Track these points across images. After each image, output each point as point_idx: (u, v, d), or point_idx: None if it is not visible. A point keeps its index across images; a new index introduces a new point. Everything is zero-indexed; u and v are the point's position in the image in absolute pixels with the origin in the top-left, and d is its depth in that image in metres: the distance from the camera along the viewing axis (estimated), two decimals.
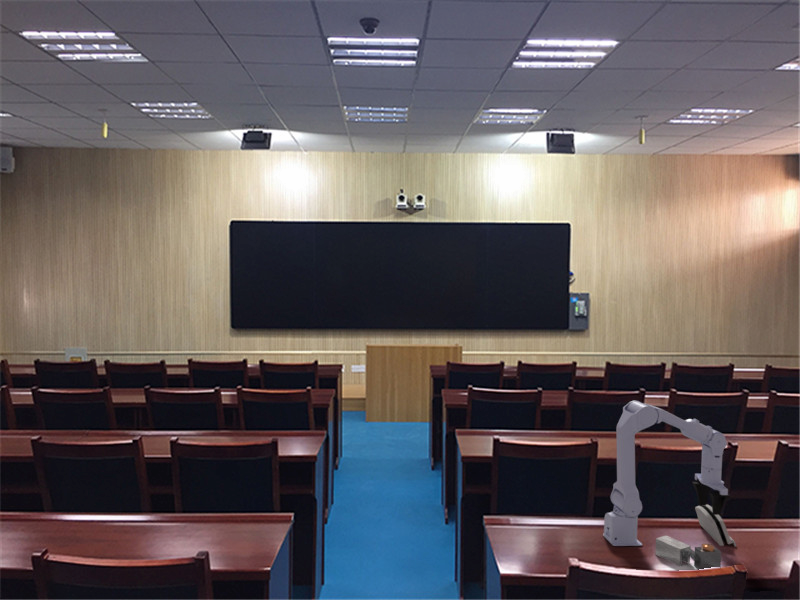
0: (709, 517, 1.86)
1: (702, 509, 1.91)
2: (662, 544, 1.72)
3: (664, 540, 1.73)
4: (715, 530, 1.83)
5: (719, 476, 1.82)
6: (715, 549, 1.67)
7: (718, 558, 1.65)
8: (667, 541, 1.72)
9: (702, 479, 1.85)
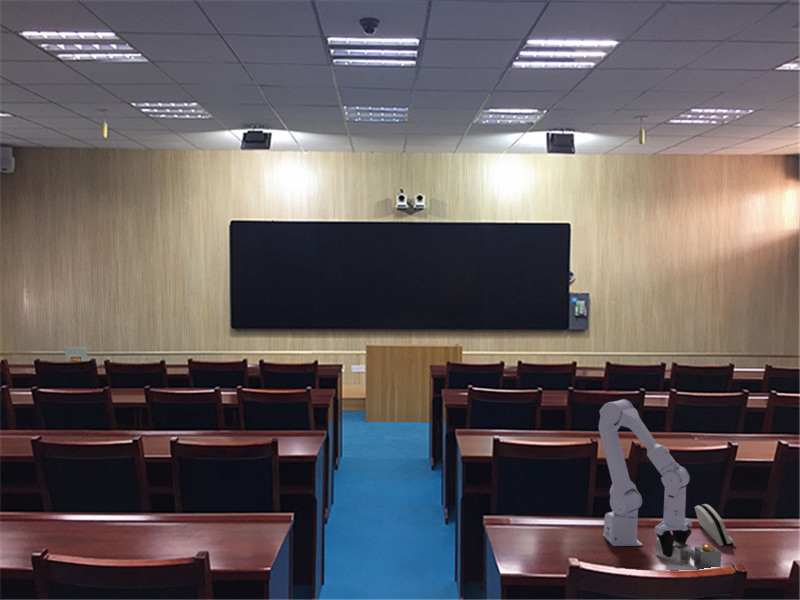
0: (708, 517, 1.86)
1: (701, 509, 1.91)
2: None
3: None
4: (714, 530, 1.83)
5: (672, 518, 1.70)
6: (715, 549, 1.67)
7: (718, 558, 1.65)
8: None
9: None
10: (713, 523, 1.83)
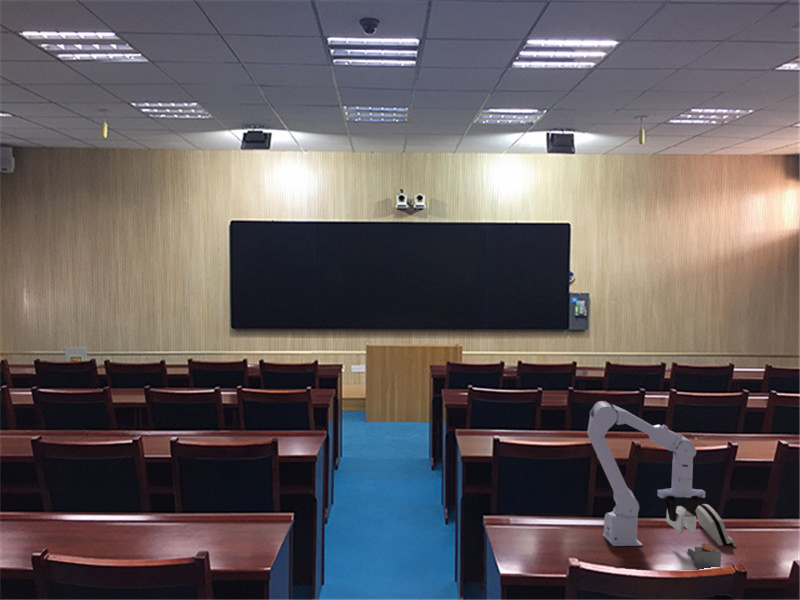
0: (708, 517, 1.86)
1: (701, 509, 1.91)
2: None
3: None
4: (714, 530, 1.83)
5: (676, 484, 1.78)
6: (715, 549, 1.67)
7: (718, 558, 1.65)
8: (676, 510, 1.80)
9: None
10: (713, 523, 1.83)
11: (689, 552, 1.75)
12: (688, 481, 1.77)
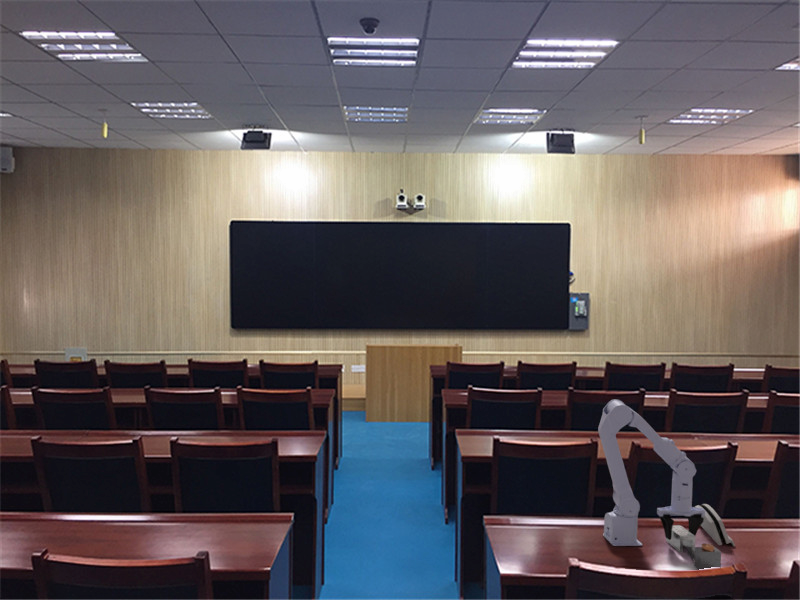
0: (708, 516, 1.86)
1: None
2: None
3: (673, 528, 1.82)
4: (713, 529, 1.83)
5: (675, 503, 1.79)
6: (715, 549, 1.67)
7: (718, 558, 1.65)
8: (675, 529, 1.81)
9: None
10: (712, 523, 1.83)
11: (689, 552, 1.75)
12: (687, 500, 1.78)
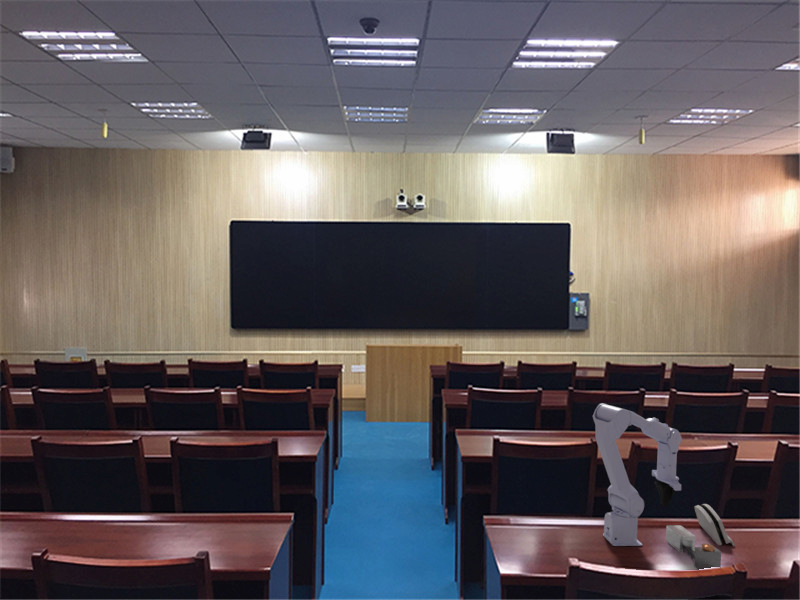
0: (707, 516, 1.86)
1: (701, 508, 1.91)
2: (670, 531, 1.82)
3: (673, 528, 1.82)
4: (713, 529, 1.83)
5: (674, 472, 1.87)
6: (715, 549, 1.67)
7: (718, 558, 1.65)
8: (675, 529, 1.81)
9: (658, 475, 1.89)
10: (712, 523, 1.83)
11: (689, 552, 1.75)
12: None
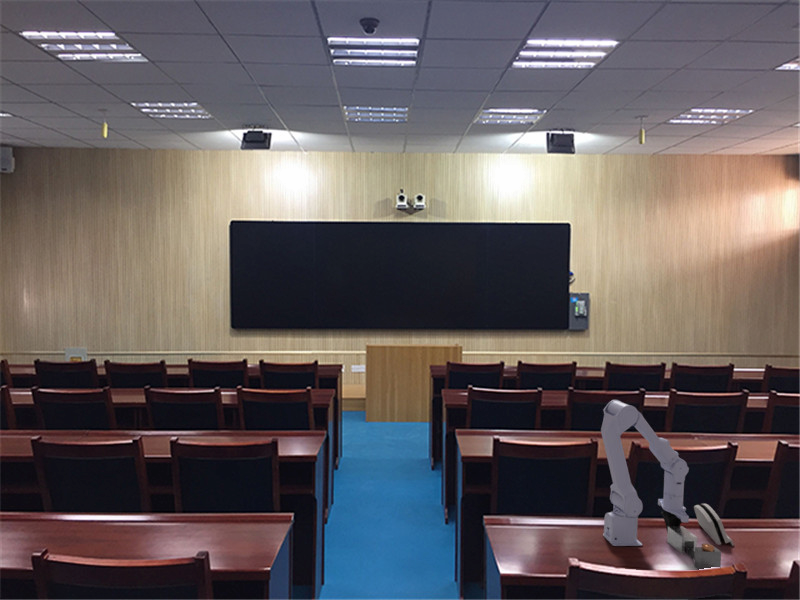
0: (707, 516, 1.86)
1: (700, 508, 1.92)
2: (671, 532, 1.81)
3: (674, 528, 1.81)
4: (712, 529, 1.83)
5: (681, 503, 1.83)
6: (715, 549, 1.67)
7: (718, 558, 1.65)
8: (677, 530, 1.80)
9: (664, 505, 1.85)
10: (711, 522, 1.84)
11: (689, 552, 1.75)
12: None
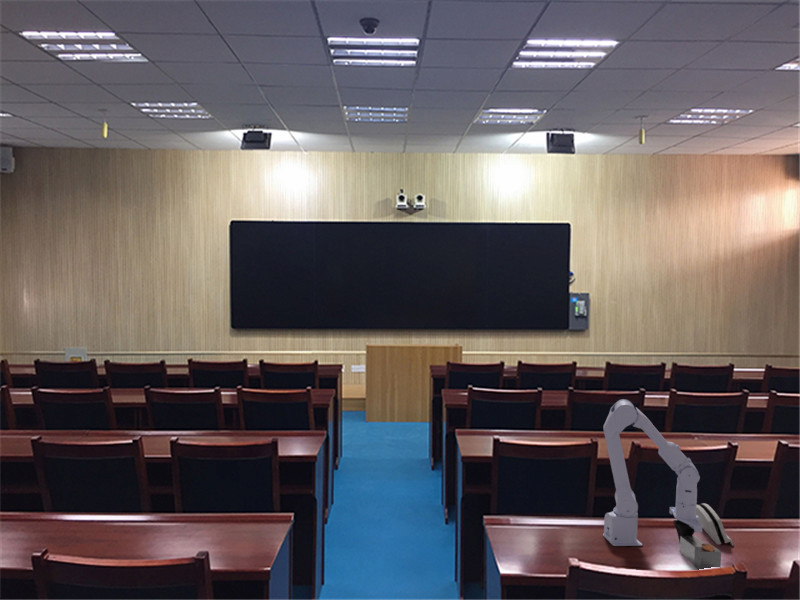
0: (706, 516, 1.87)
1: (700, 508, 1.92)
2: (684, 542, 1.74)
3: (687, 538, 1.74)
4: (712, 529, 1.84)
5: (694, 511, 1.76)
6: (715, 549, 1.67)
7: (718, 558, 1.65)
8: (690, 540, 1.73)
9: (676, 514, 1.78)
10: (711, 522, 1.84)
11: None
12: None
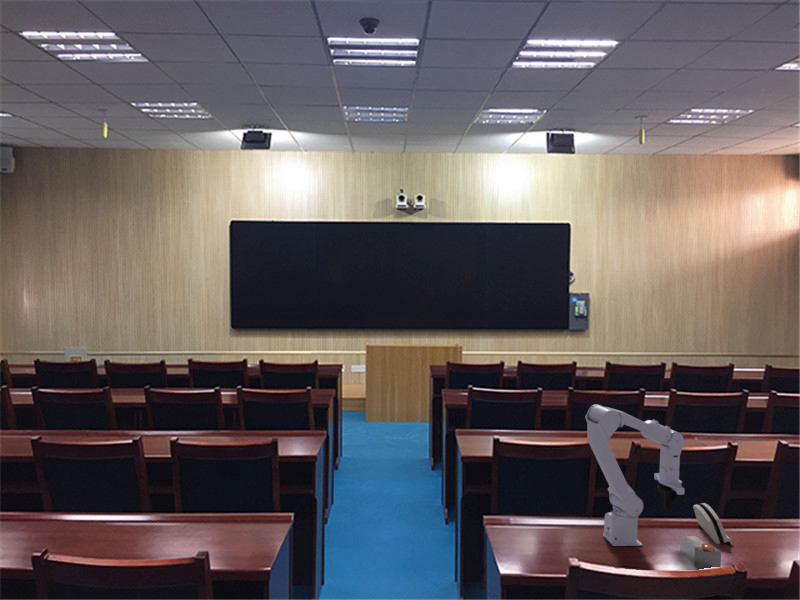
0: (706, 515, 1.87)
1: (699, 508, 1.92)
2: (684, 542, 1.74)
3: (687, 539, 1.74)
4: (711, 528, 1.84)
5: (677, 476, 1.84)
6: (715, 549, 1.67)
7: (718, 558, 1.65)
8: (690, 540, 1.73)
9: (660, 479, 1.86)
10: (710, 522, 1.84)
11: None
12: None
